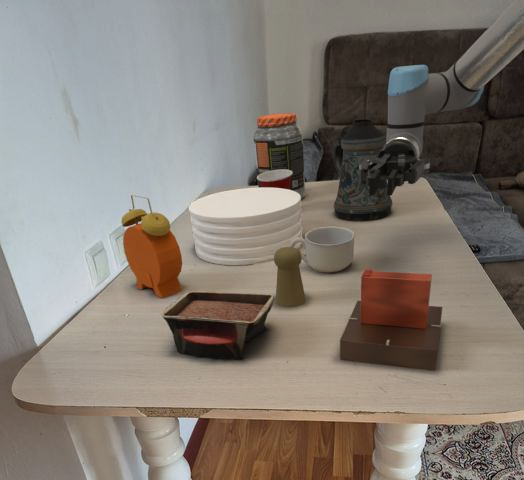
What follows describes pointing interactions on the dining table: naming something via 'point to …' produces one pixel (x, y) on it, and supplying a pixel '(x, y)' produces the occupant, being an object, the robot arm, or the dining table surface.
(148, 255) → the alarm clock
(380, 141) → the beer stein
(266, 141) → the supplement tub
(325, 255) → the teacup
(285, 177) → the plastic cup
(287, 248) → the olive pepper shaker
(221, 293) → the baking dish
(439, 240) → the dining table surface
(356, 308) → the brown square platform
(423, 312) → the orange-red rectangular block
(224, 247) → the plate stack
